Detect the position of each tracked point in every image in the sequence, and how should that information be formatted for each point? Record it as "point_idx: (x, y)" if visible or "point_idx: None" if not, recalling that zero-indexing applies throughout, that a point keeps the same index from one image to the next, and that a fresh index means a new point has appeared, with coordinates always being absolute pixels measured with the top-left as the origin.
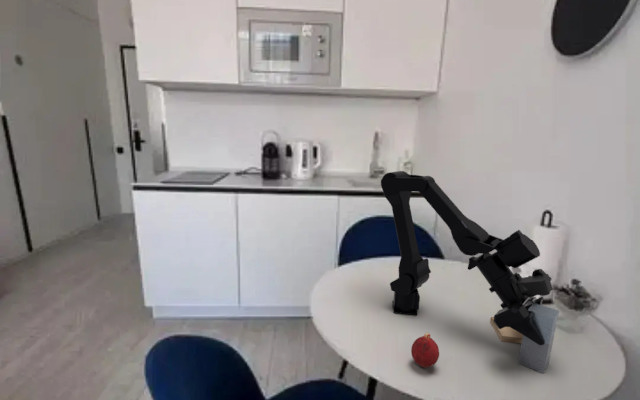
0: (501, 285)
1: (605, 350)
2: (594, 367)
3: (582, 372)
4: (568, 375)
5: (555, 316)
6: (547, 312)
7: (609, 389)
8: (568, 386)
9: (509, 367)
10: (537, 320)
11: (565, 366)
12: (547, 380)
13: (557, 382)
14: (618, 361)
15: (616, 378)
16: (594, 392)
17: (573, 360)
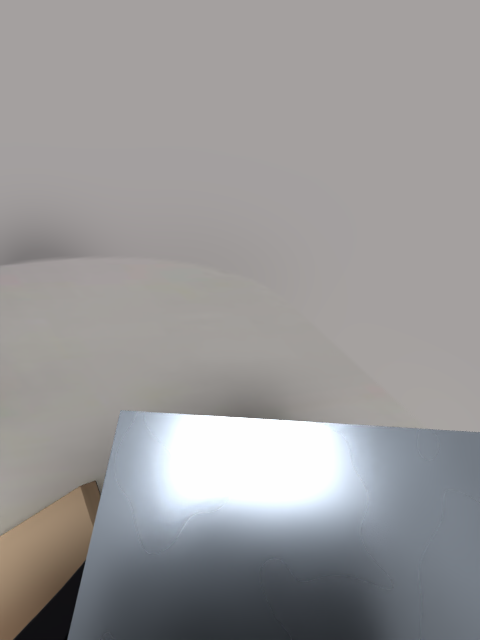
0: None
1: (15, 287)
2: (143, 306)
3: (195, 330)
4: (242, 362)
5: (387, 427)
6: (344, 588)
7: (233, 273)
8: (302, 355)
9: None
10: None
11: (194, 375)
12: (323, 413)
13: (308, 384)
14: (68, 259)
15: (166, 262)
16: (276, 299)
17: (138, 358)
